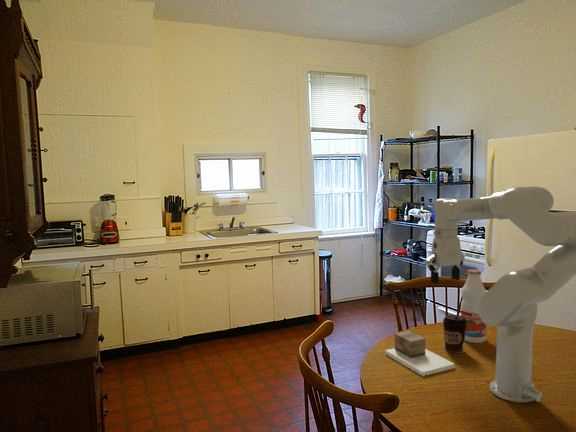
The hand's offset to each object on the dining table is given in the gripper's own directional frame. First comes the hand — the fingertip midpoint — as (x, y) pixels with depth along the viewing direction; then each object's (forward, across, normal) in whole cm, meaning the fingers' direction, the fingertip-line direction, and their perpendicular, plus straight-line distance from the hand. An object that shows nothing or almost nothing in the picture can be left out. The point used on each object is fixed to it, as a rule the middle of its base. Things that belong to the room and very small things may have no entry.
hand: (445, 281), depth 153 cm
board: (+28, -10, +2) cm, 30 cm away
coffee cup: (+28, +8, +3) cm, 30 cm away
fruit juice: (+28, +23, +8) cm, 37 cm away
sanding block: (+27, -10, +7) cm, 29 cm away
